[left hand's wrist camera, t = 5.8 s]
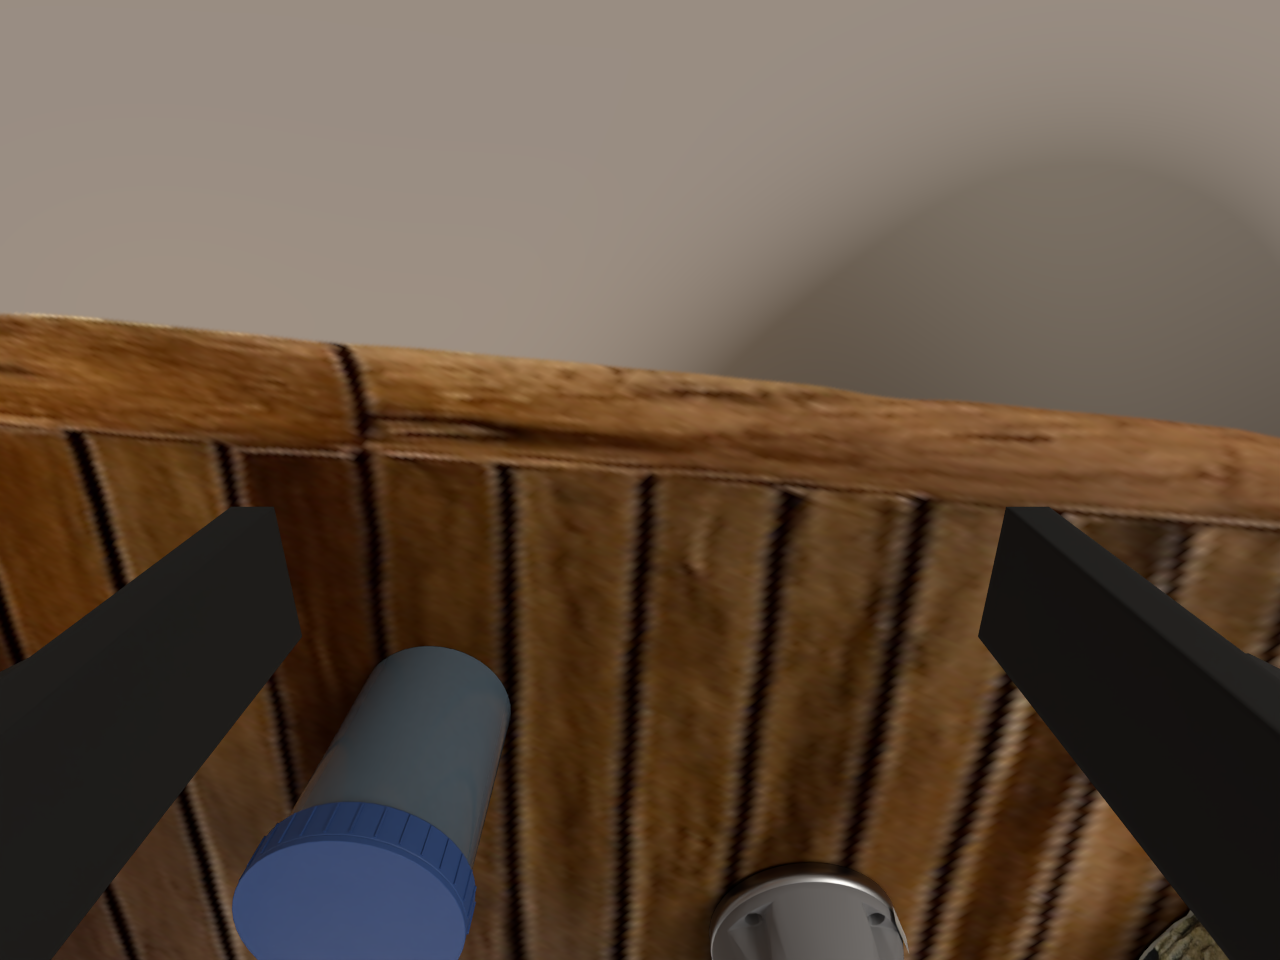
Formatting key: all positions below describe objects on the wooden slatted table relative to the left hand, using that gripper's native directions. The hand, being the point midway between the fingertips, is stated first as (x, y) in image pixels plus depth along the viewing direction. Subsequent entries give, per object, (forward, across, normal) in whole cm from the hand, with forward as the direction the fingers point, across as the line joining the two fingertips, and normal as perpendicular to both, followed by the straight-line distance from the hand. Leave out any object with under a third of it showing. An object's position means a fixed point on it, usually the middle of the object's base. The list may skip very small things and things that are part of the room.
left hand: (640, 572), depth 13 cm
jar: (+28, +14, +27) cm, 41 cm away
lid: (+12, +14, +27) cm, 33 cm away
